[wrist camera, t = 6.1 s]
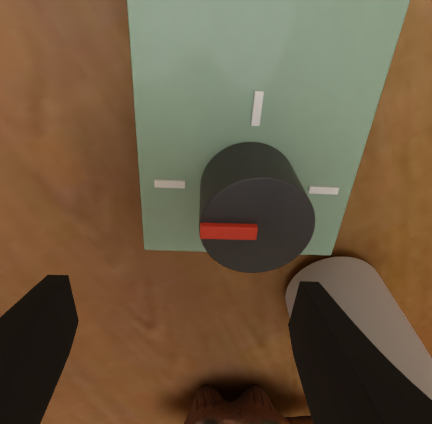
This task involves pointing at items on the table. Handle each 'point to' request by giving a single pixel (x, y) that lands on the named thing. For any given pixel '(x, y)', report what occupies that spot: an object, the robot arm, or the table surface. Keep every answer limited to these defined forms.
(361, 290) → the beverage can
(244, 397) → the decorative turtle
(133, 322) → the table surface
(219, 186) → the dial
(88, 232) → the table surface
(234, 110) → the dial panel
